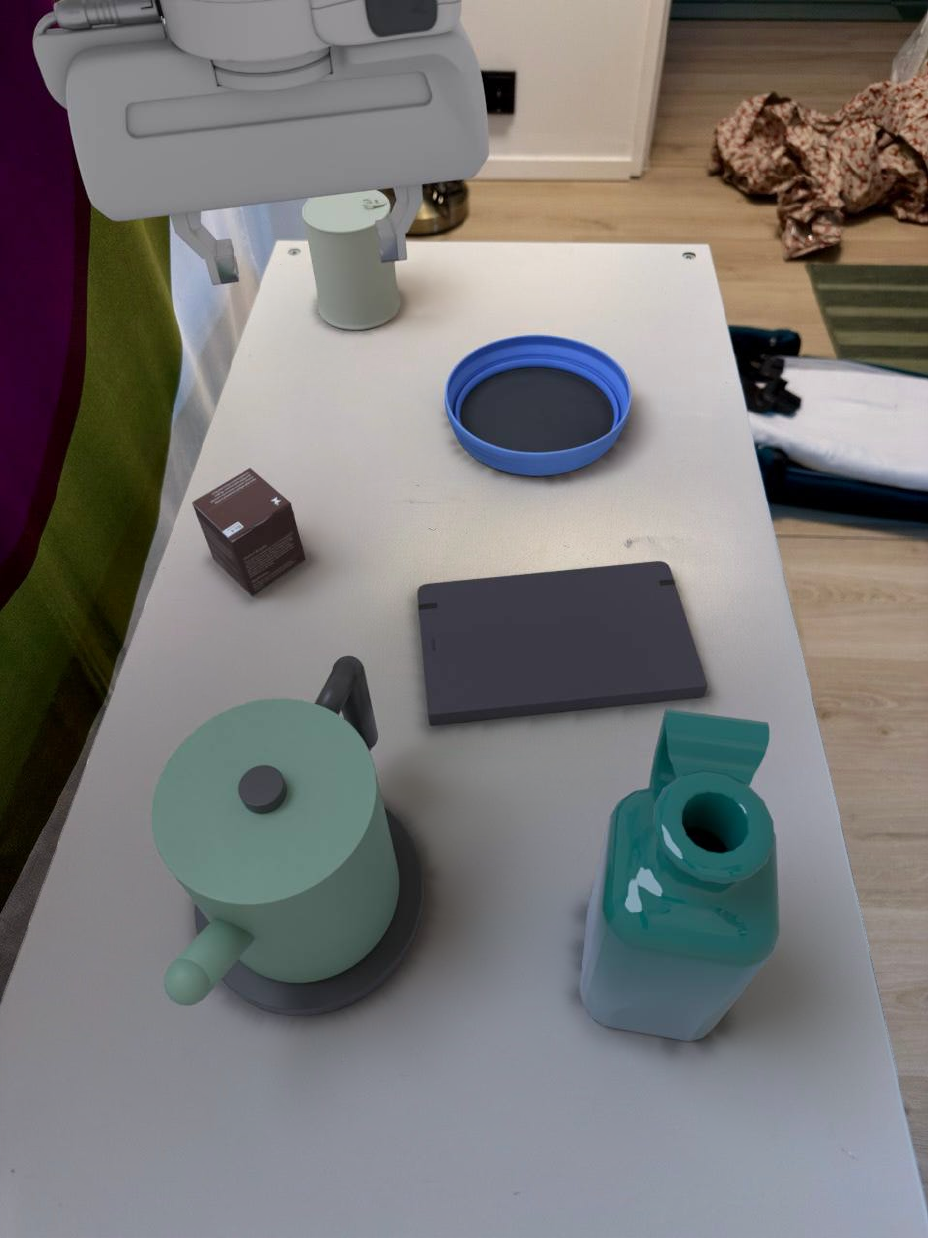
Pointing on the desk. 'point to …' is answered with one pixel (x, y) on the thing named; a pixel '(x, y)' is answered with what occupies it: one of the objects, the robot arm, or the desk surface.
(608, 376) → the bowl
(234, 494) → the box
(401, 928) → the kettle base
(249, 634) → the desk surface
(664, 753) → the pitcher
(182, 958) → the kettle
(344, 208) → the can
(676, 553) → the desk surface
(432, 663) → the notebook
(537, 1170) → the desk surface
